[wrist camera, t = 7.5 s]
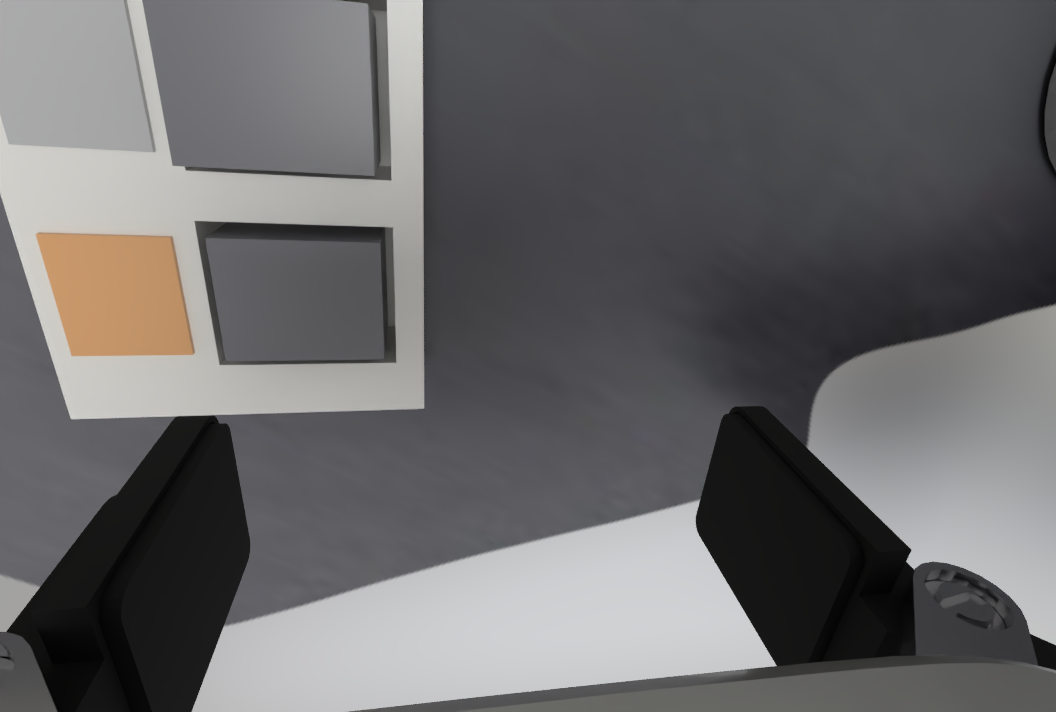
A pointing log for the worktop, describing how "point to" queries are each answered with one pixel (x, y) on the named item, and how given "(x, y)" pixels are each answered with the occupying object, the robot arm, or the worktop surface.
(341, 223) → the switch box
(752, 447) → the robot arm
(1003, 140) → the worktop surface
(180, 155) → the button
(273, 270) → the button
